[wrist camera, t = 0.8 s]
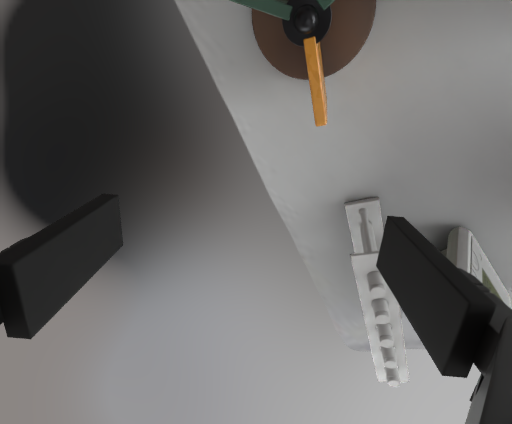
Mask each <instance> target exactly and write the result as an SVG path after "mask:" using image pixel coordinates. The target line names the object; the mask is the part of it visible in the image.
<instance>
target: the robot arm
mask: <svg viewBox="0 0 512 424" xmlns="http://www.w3.org/2000/svg"><path fill="white" fill-rule="evenodd" d="M119 209H120V208H119V199H118V195H113V194H101V195H100V196H98V197H96V198H95V199H93V200H91V201H90V202H88V203H86V204H84V205H83V206H81V207H79V208H78V209H76V210H74V211H73V212H71V213H70V214H68V215H66V216H64V217H63V218H61V219H59V220H57V221H56V222H54V223H52V224H51V225H49V226H47V227H46V228H44V229H42V230H41V231H39V232H37V233H36V234H34V235H32V236H30V237H28V238H25V239H22V240H20V241H18V242H17V243H15V244H13V245H11V246H10V248H6V249H5V250H3V251H1V253H0V324H2V323H3V322H4V326H5V329H6V333H7V337H13V338H26V339H31V338H32V337H33V336H34V335H35V334H36V333H37V332H38V331H39V330H40V329H41V328H42V327H43V326H44V325H45V324H46V323H47V322H48V321H49V320H50V319H51V318H52V317H53V316H54V315H55V314H56V313H57V312H58V311H59V310H60V309H61V308H62V307H63V306H64V305H65V304H66V303H67V302H68V301H69V300H70V299H71V298H72V297H73V296H74V295H75V294H76V293H77V292H78V290H80V288H82V286H84V284H85V283H86V282H87V281H88V280H89V279H90V278H91V277H92V276H93V275H94V274H95V273H96V272H97V271H98V270H99V269H100V268H101V267H102V266H103V265H104V264H105V263H106V262H107V261H108V260H109V259H110V258H111V257H112V256H113V255H114V254H115V253H116V252H117V251H118V250H119V249H120V247H122V246H123V239H122V229H121V220H120V219H121V218H120V210H119ZM376 267H377V269H378V270H379V272H380V274H381V275H382V277H383V278H384V280H385V282H386V283H387V285H388V287H389V288H390V290H391V292H392V293H393V295H394V297H395V298H396V300H397V302H398V303H399V305H400V307H401V308H402V310H403V312H404V313H405V315H406V317H407V318H408V320H409V322H410V323H411V325H412V326H413V328H414V330H415V331H416V333H417V335H418V336H419V338H420V340H421V341H422V343H423V345H424V346H425V348H426V350H427V351H428V353H429V355H430V356H431V358H432V360H433V361H434V363H435V365H436V366H437V368H438V370H439V371H440V373H441V374H442V376H453V377H464V378H467V376H468V374H469V371H470V369H471V367H472V364H473V363H474V364H475V365H476V366H477V368H478V369H479V371H480V372H481V376H480V378H479V380H478V383H477V385H476V387H475V389H474V392H473V394H472V396H471V399H470V401H471V402H472V403H471V406H470V409H469V413H468V417H467V419H466V423H465V424H512V309H511V308H509V307H508V306H507V305H506V304H505V303H504V302H503V301H502V300H501V299H499V298H498V297H497V296H496V295H495V294H494V293H491V292H492V291H491V290H489V289H488V288H487V287H486V286H484V284H483V283H482V282H481V281H479V280H478V279H477V278H476V277H475V276H474V275H472V274H470V273H468V272H467V271H465V270H463V269H461V268H457V267H456V266H455V265H454V264H453V263H452V262H451V261H450V260H449V259H448V258H446V257H445V256H444V255H443V254H442V253H441V252H440V251H439V250H438V249H437V248H436V247H435V246H434V245H433V244H432V243H430V242H429V241H428V240H427V239H426V238H425V237H424V236H423V235H422V234H421V233H420V232H419V231H418V230H417V229H416V228H414V227H413V226H412V225H411V224H410V223H409V222H408V221H407V220H406V219H405V218H404V217H394V216H387V220H386V225H385V229H384V233H383V237H382V242H381V246H380V250H379V254H378V259H377V263H376Z"/></svg>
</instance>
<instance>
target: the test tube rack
mask: <svg viewBox="0 0 512 424" xmlns="http://www.w3.org/2000/svg"><path fill="white" fill-rule="evenodd" d="M345 209H346V214H347V219H348V224H349V228H350V233H351V238H352V243H353V247H354V252H355V254H350V257H351V261H352V266H353V270H354V275H355V279H356V284H357V289H358V293H359V298H360V302H361V307H362V311H363V316H364V320H365V325H366V329H367V334H368V338H369V343H370V348H371V352H372V357H373V361H374V365H375V370H376V374H377V379H378V382H388V385H389V386H391V387H398V386H400V382H409V375H408V367H407V360H406V352H405V344H404V336H403V329H402V321H401V314H400V306H399V303H398V302H397V300H396V298H395V297H394V295H393V293H392V292H391V290H390V288H389V287H388V285H387V283H386V282H385V280H384V278H383V277H382V275H381V274H380V272H379V270H378V269H377V267H376V263H377V259H378V254H379V250H380V246H381V242H382V237H383V233H384V231H383V224H382V217H381V209H380V202H379V198H378V197H376V198H370V199H364V200H358V201H352V202H347V203H345ZM376 325H377V328H376ZM380 347H381V349H380ZM394 347H395V349H394ZM384 366H385V368H384ZM397 366H398V368H397Z"/></svg>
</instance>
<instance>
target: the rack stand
mask: <svg viewBox="0 0 512 424" xmlns="http://www.w3.org/2000/svg"><path fill="white" fill-rule="evenodd" d="M330 6H331V10H332V21H331V25H330V28H329V31H328V32H327V34H326V36H325V37H324V38H323V39H322V40H321V41H320V48H321V56H322V64H323V73H324V77H326V76H329V75H331V74H333V73H335V72H337V71H339V70H340V69H342V68H343V67H344V66H346V65H347V64H348V63H349V62H350V61H351V60H352V59H353V58H354V57H355V56H356V55H357V54H358V52H359V51H360V50H361V48H362V46H363V45H364V43H365V41H366V39H367V37H368V35H369V33H370V30H371V28H372V25H373V21H374V17H375V9H376V0H335V1H334V2H333V3H332V4H331V5H330ZM252 24H253V30H254V34H255V38H256V41H257V43H258V46H259V48H260V50H261V51H262V53H263V55H264V56H265V58H266V59H267V60H268V61H269V62H270V63H271V65H272V66H274V67H275V68H276V69H277V70H279V71H280V72H282V73H284V74H285V75H288V76H290V77H293V78H297V79H304V80H309V77H308V70H307V63H306V56H305V50H304V47H300V46H297V45H295V44H293V43H292V42H291V41H290V40H289V39H288V38H287V36H286V35H285V33H284V30H283V26H282V18H279V17H276V16H273V15H270V14H267V13H265V12H262V11H259V10H256V9H253V8H252Z"/></svg>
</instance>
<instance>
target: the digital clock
mask: <svg viewBox="0 0 512 424" xmlns="http://www.w3.org/2000/svg"><path fill="white" fill-rule="evenodd" d="M440 252H441V253H442V254H443V255H444V256H445V257H446V258H448V259H449V260H450V261H451V262H452V263H453V264H454V265H455V266H456V267H457V268H461V269H463V270H465V271H467V272H468V273H470V274H472V275H474V276H475V277H476V278H477V279H478V280H479V281H481V282H482V283H483V284H484V286H486V287H487V288H488V289H489V290H491V291H492V292H491V293H494V294H495V295H496V296H497V297H498V298H499V299H501V300H502V301H503V302H504V303H505V304H506V305H507V306H508V307H509V308H511V302H510V296H509V294H508V292H507V290H506V289H505V287H504V285H503V284H502V282H501V280H500V279H499V277H498V275H497V274H496V272H495V270H494V269H493V267H492V265H491V264H490V262H489V260H488V259H487V257H486V255H485V254H484V252H483V250H482V249H481V247H480V245H479V244H478V242H477V241H476V239H475V237H474V236H473V234H472V233H471V231H470V230H467V229H465V228H463V227H456V228H454V229H453V230H452V231H451V232H450V234H449V236H448V246H447V249H445V250H443V251H440Z"/></svg>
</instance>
